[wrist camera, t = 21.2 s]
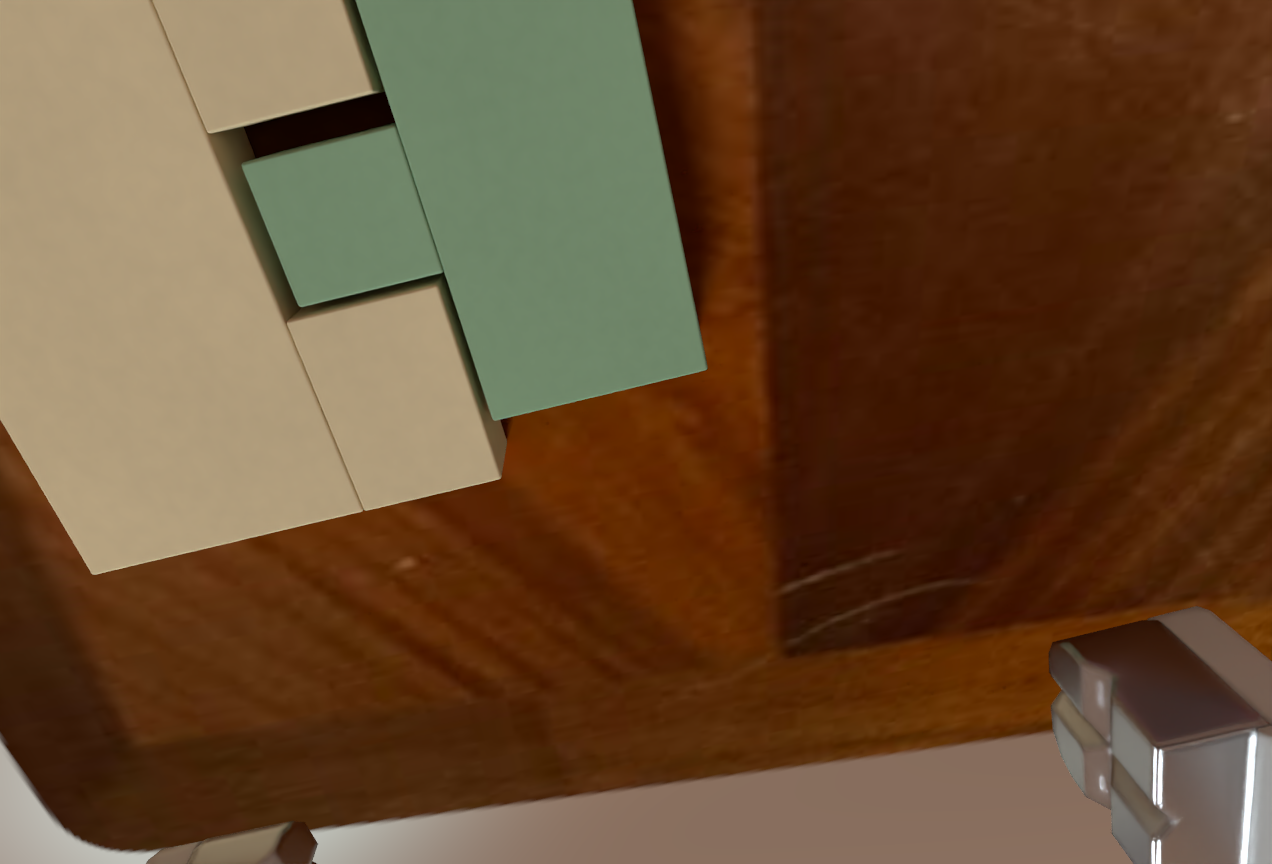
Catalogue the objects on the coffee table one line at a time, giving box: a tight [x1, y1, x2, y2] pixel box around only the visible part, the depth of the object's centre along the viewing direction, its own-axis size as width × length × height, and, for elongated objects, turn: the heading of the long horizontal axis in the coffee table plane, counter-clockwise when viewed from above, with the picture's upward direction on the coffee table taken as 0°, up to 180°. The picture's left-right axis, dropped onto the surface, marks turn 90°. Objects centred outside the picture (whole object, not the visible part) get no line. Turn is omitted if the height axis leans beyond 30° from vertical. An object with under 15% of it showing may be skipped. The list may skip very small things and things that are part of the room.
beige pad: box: [0, 0, 507, 575], centre depth 22 cm, size 16×12×2 cm
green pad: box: [242, 0, 707, 421], centre depth 21 cm, size 12×10×2 cm
